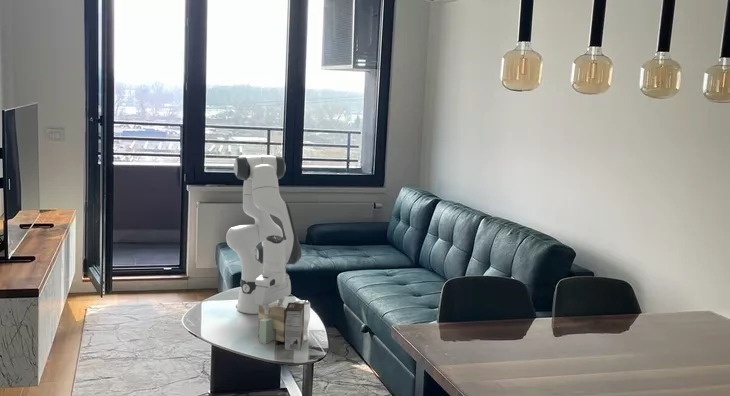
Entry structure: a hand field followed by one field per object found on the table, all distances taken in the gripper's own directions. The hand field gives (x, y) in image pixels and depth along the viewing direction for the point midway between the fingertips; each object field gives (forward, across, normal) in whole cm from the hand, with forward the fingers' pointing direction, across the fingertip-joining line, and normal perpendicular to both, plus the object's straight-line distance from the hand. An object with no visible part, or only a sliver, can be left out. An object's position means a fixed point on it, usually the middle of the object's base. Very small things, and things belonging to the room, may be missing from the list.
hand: (273, 311), depth 274 cm
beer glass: (+11, -5, +10) cm, 16 cm away
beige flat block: (+11, 0, 0) cm, 11 cm away
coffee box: (+11, +3, +12) cm, 17 cm away
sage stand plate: (+11, 0, 0) cm, 11 cm away
